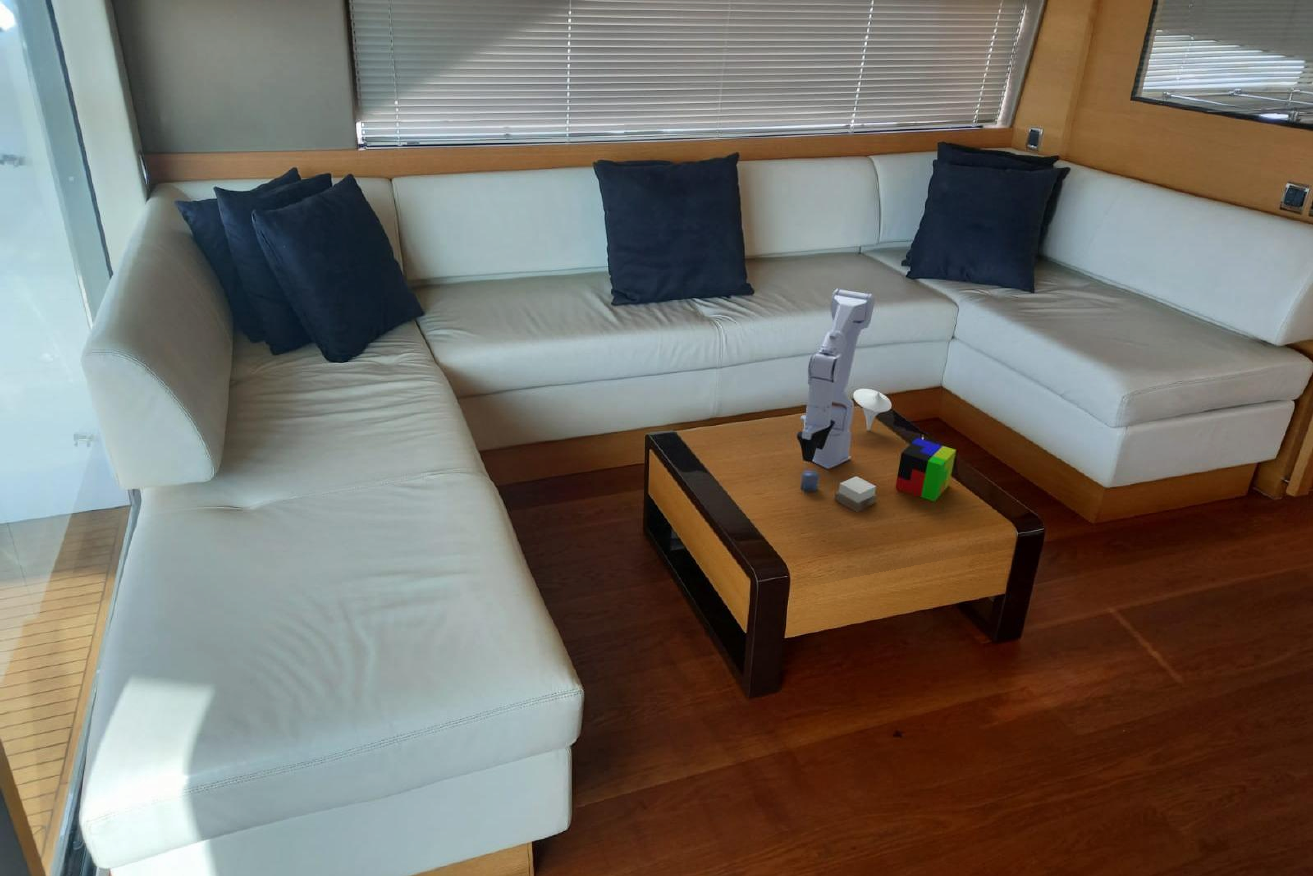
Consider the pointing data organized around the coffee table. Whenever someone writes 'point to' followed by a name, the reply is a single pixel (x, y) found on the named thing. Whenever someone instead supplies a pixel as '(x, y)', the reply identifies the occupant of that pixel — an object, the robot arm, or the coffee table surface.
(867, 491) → the cream top block
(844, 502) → the walnut base block
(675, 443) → the coffee table surface
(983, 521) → the coffee table surface
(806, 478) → the navy rounded cylinder
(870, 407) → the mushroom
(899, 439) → the coffee table surface
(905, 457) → the puzzle toy
